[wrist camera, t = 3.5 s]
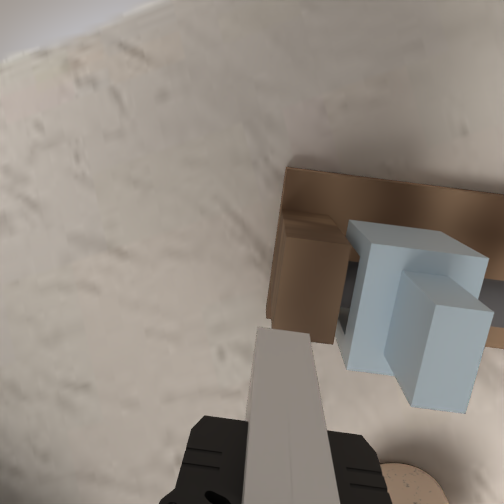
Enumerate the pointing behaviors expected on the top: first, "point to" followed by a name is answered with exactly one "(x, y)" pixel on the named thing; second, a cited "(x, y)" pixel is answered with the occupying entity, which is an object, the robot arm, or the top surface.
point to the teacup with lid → (411, 485)
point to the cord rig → (345, 256)
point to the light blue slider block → (416, 313)
